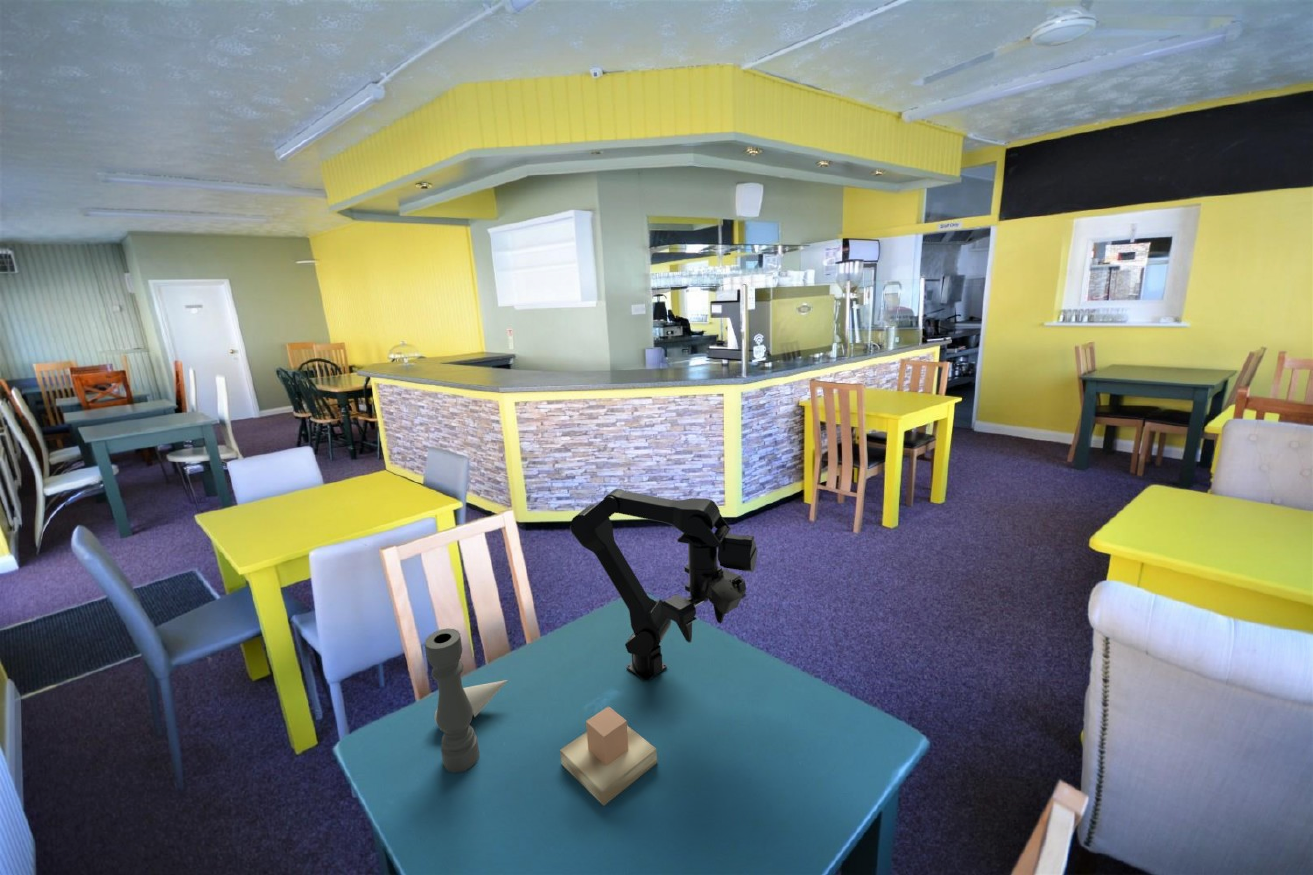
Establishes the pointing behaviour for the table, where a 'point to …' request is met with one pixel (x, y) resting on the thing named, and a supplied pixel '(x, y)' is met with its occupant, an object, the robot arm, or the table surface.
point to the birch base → (608, 766)
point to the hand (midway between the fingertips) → (704, 631)
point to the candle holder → (452, 701)
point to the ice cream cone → (481, 695)
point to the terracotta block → (607, 735)
